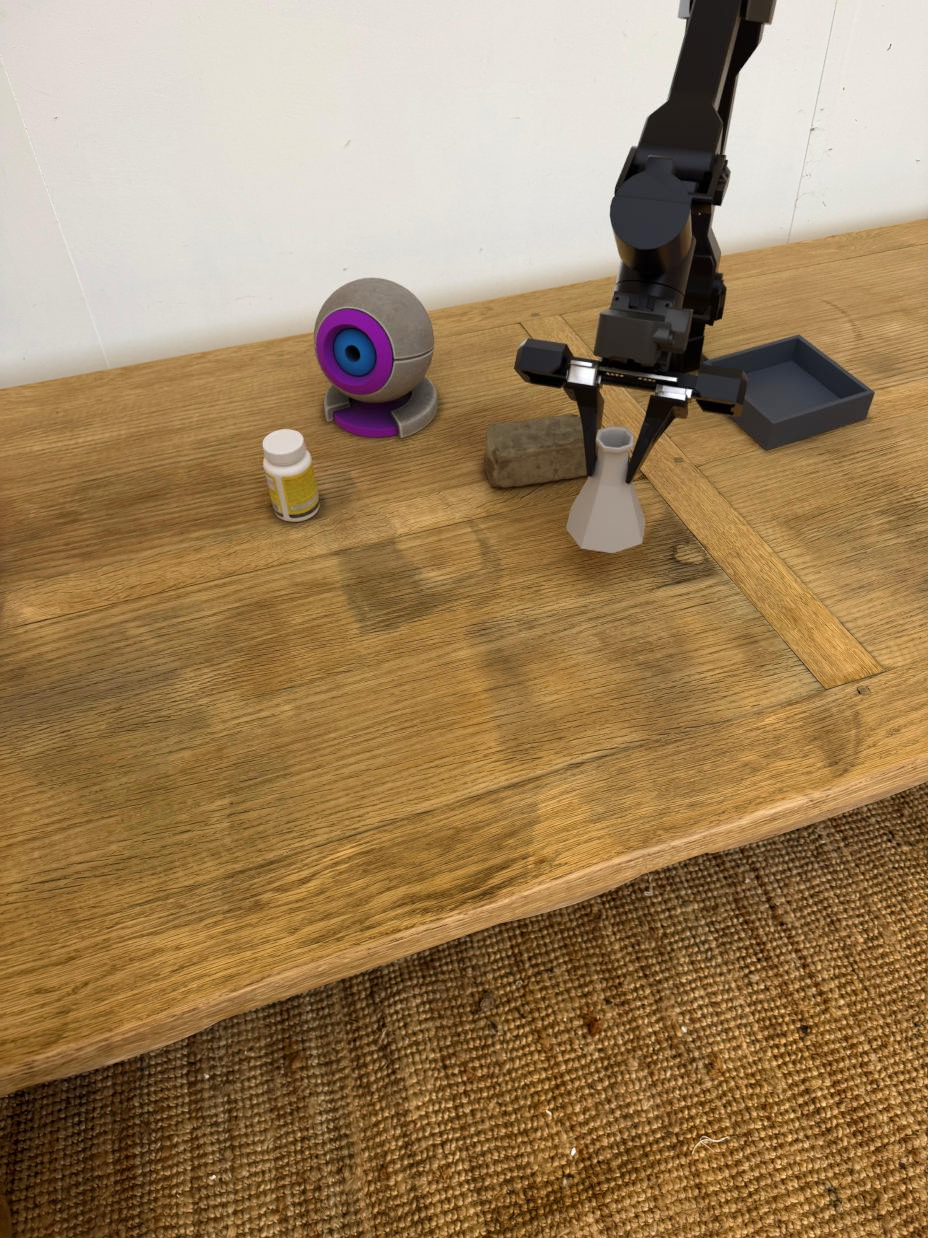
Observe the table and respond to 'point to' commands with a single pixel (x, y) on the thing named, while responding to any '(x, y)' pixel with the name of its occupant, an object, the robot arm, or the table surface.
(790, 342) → the dark grey square tray
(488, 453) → the stone block
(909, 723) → the table surface
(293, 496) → the supplement bottle
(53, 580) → the table surface
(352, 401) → the webcam
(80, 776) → the table surface
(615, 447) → the flask
